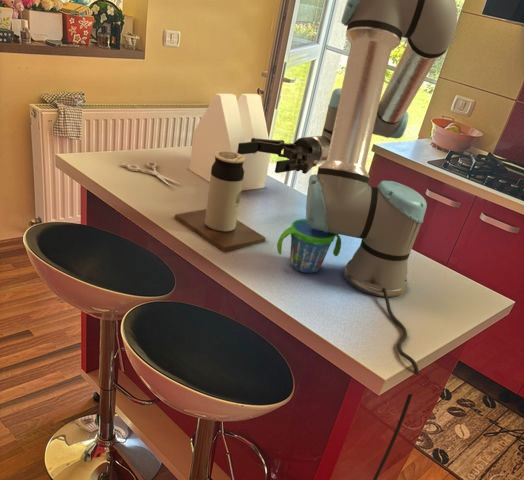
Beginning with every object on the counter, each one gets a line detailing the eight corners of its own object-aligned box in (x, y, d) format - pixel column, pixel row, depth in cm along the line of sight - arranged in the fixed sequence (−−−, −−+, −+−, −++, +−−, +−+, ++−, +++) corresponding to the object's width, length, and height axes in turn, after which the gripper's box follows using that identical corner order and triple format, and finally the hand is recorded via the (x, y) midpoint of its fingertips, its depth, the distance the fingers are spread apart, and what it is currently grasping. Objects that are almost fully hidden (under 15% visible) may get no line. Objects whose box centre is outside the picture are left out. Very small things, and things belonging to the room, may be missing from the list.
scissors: (149, 160, 171) (191, 182, 162) (149, 162, 172) (190, 185, 162) (120, 163, 164) (163, 187, 155) (120, 166, 165) (162, 190, 155)
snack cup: (277, 274, 127) (286, 234, 121) (269, 253, 135) (277, 215, 129) (339, 280, 131) (351, 241, 125) (328, 259, 139) (339, 222, 133)
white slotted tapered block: (189, 169, 174) (198, 85, 159) (227, 165, 183) (238, 85, 168) (226, 192, 163) (239, 104, 149) (264, 187, 173) (279, 104, 158)
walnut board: (264, 241, 140) (265, 237, 140) (223, 251, 131) (224, 247, 131) (215, 211, 151) (216, 206, 150) (174, 218, 142) (174, 214, 141)
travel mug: (198, 224, 138) (207, 153, 128) (214, 216, 145) (223, 147, 134) (225, 235, 136) (236, 164, 126) (240, 226, 142) (252, 157, 132)
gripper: (341, 180, 147) (290, 190, 133) (275, 150, 159) (222, 156, 145) (349, 152, 142) (297, 159, 129) (280, 123, 155) (226, 127, 141)
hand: (257, 157), depth 137 cm, fingers open, 13 cm apart
